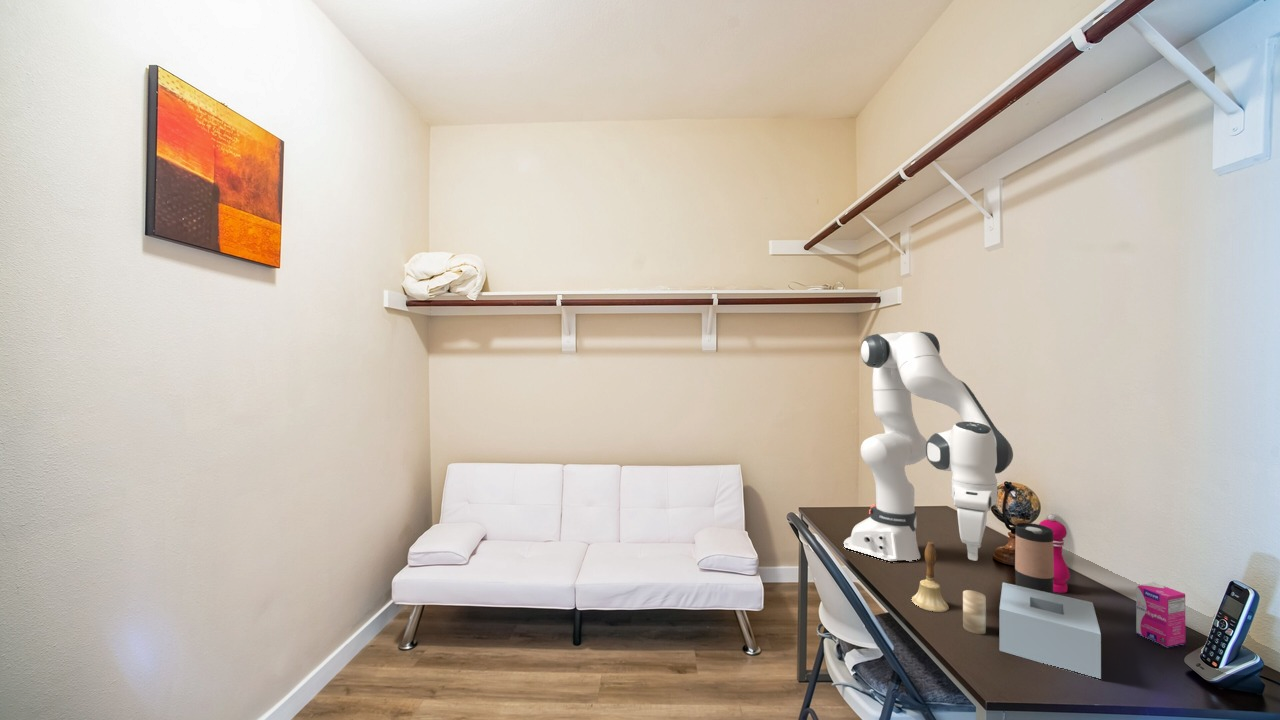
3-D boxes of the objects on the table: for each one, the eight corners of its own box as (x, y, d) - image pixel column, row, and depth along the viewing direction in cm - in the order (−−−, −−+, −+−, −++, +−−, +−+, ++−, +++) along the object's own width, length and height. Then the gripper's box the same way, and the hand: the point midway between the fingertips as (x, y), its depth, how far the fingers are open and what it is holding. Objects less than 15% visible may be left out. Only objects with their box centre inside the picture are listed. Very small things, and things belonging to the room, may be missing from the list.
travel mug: (1027, 596, 130) (1027, 520, 130) (1060, 610, 123) (1060, 530, 123) (1008, 602, 127) (1008, 524, 127) (1041, 616, 120) (1041, 534, 120)
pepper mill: (1076, 595, 131) (1076, 519, 131) (1045, 592, 133) (1045, 518, 133) (1059, 583, 138) (1059, 511, 138) (1029, 580, 140) (1029, 510, 140)
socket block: (999, 650, 106) (999, 608, 106) (1002, 619, 119) (1002, 582, 119) (1100, 680, 96) (1100, 634, 96) (1092, 643, 109) (1092, 602, 109)
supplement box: (1134, 634, 112) (1134, 584, 112) (1153, 631, 114) (1153, 581, 114) (1167, 649, 107) (1167, 596, 107) (1186, 645, 108) (1186, 593, 108)
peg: (962, 629, 114) (961, 595, 114) (964, 621, 118) (963, 588, 118) (985, 636, 112) (985, 601, 112) (986, 628, 115) (986, 593, 115)
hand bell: (946, 600, 128) (946, 539, 128) (950, 615, 121) (950, 550, 121) (910, 594, 132) (910, 534, 132) (912, 608, 125) (911, 544, 125)
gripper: (962, 482, 125) (963, 537, 125) (952, 500, 109) (953, 563, 109) (993, 486, 121) (993, 542, 121) (987, 505, 105) (988, 570, 105)
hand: (974, 552), depth 115 cm, fingers open, 8 cm apart
